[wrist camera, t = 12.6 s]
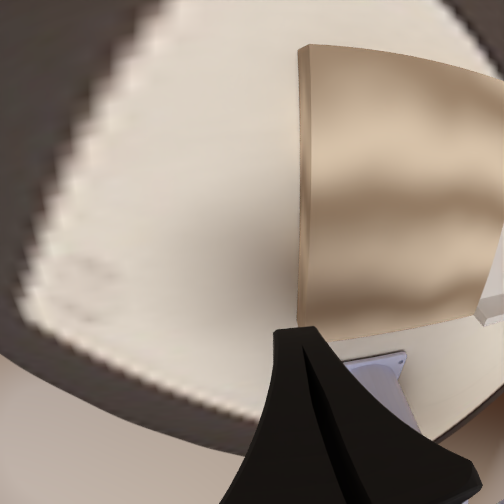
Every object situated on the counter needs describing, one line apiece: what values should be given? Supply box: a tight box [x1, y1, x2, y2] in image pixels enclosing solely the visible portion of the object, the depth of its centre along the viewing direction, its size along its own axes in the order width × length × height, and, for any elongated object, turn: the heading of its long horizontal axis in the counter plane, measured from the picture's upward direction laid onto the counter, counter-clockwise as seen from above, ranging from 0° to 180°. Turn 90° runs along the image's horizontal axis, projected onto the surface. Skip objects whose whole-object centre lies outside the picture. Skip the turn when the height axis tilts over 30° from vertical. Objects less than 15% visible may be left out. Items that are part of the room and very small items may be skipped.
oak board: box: [297, 44, 504, 342], centre depth 17 cm, size 17×14×2 cm
